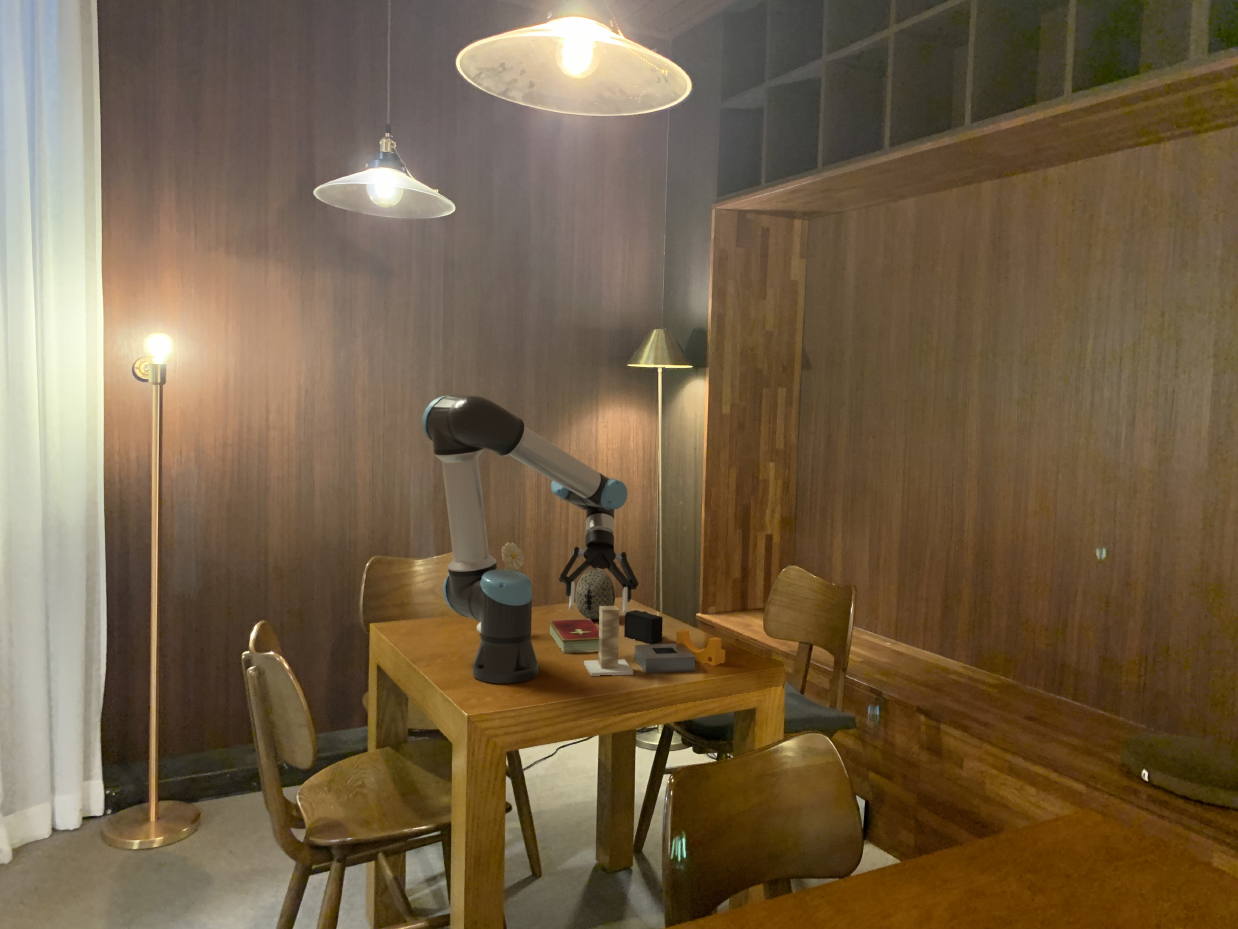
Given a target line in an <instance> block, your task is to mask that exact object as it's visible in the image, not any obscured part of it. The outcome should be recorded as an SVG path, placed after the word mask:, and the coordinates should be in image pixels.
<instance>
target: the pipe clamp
mask: <svg viewBox="0 0 1238 929" xmlns="http://www.w3.org/2000/svg"><path fill="white" fill-rule="evenodd" d="M675 638H676V640H675V641H676V643H682V644H683V645H684V646H685V647H686V648H687V649H688V650H689V651H690V652H691V653H692V654H693V655H694V656H695V660H696V661H695V662H698V661H700V662H699V663H702V662H704V663H703V664H705V663H708V664H707V665H709V664H711V665H710V666H713V665H714V666H713V667H715V665H716V666H718V664H719V665H720V663H721V664H725V663H726V650H725V649H722V638H720V637H716V636H713V637H711V638H708V640H707V641H708V643H707V645H706V647H704V648H698V647H696V646H695V644H694V643H693V641H692V638H691V636H690V630H686V629H680V630H677V631H676V637H675ZM676 643H675V644H676Z"/></svg>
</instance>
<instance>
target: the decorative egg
mask: <svg viewBox="0 0 1238 929" xmlns="http://www.w3.org/2000/svg"><path fill="white" fill-rule="evenodd" d="M615 601H616V589H615V585H614V582H613V580H612V578H611V576H610V575H609V574H608V573H607V572H605V571H604V569H600V568H592V569H589V570H587V571H585V572H584V574H583V573H582V576H581V577H580V578H579V579H578V582H577V583H576V588H575V591H574V602H575V605H576V608H577V610H578V612H579V613H580V614H581V615H582V616H583V617H585V619H591V621H593V620H594V621H597V620H599V606H615Z"/></svg>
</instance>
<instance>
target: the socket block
mask: <svg viewBox="0 0 1238 929" xmlns="http://www.w3.org/2000/svg"><path fill="white" fill-rule="evenodd" d="M634 660H635V662H637V664H638V665H639V666H640V668H641V669H642V670H643V672H645V674H658V673H659V674H660V673H662V674H663V673H682V672H684V673H685V672H696V661H695V656H694V655H693V654H692V653H691V652H690V651H689V650H688V649H687V648H686V647H685V646H684V645H683V644H682V643H657V644H647V643H646V644H634Z"/></svg>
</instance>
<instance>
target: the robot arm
mask: <svg viewBox="0 0 1238 929" xmlns="http://www.w3.org/2000/svg"><path fill="white" fill-rule="evenodd" d="M422 429H423V432H424V434H425V435H426V437H427V439H429V440H430V441H431V442H432V447H433V454H434V456H435V457H436V458H437V459H438V460H440V461H441V464H442V466H441V467H442V473H443V482H444V491H445V500H446V508H447V509H446V510H447V516H448V524H449V531H450V533H449V534H450V542H451V549H452V550H451V551H452V558H453V559H452V560H451V562H449V563H448V565H447V569H448V571H447V572H448V574H447V575H446V578H445V579H444V581H443V584H442V594H443V598H444V601H445V603H446V605H447V606H448V607H449V608H450V609H451V610H452V611H454V612H456V614H458V615H459V616H462V617H464V618H469V619H472V620H474V621H477V622H479V623H480V622H481V633H480V642H479V645H478V649H477V652H476V655H475V658H474V660H473V664H472V676H473V677H474V678H475V679H476V678H477V680H479V681H482V682H485V683H493V684H514V683H515V684H516V683H521V682H527V681H531V680H532V679H534V678H537V676H538V675H539V661H538V658H537V655H536V652H535V649H534V646H533V643H532V621H533V620H532V618H533V617H532V616H533V615H532V613H533V610H532V609H533V607H532V606H533V605H532V604H533V597H534V596H533V595H534V594H533V585H532V581H531V578H529V577H528V575H526V574H525V573H523V572H520V571H518V570H514V571H510V570H508V569H506V570H505V569H498V566H497V565H498V564H497V559H496V558H495V557H493V556H492V555H491V554H490V551H489V544H488V543H489V541H488V534H487V525H486V517H485V516H486V515H485V506H484V499H483V497H484V496H483V488H482V480H481V472H480V462H479V456H480V455H481V454H482V453H483V452H484V450H488V451H492V452H494V453H495V454H497V455H499V456H501V457H508V456H510V457H512V458H513V459H515V460H516V461H519V462H520V463H522V464H524V465H525V466H527V467H529V468H531V469H532V470H534V471H536V472H538V473H539V474H540V475H542V476H544V477H546V478H547V479H549V480H551V483H550V490H551V493H553V495H555V496H556V497H557V498H559V499H560V500H564V501H566V502H567V503H570V504H572V505H574V506H576V507H578V508H579V509H582V510H584V511H585V516H586V517H585V521H586V522H585V546H584V549H581V548H579V547H578V546H575V547H574V549H573V550H572V556H571V557H570V559H569V560H568V562H567V564H566V565H565V567H564V568H563V571H562V572H561V574H560V576H559V578H558V582H561V583H564V584H565V585H564V586H565V596H566V597H569V599H568V601H569V602H568V611H572V610H573V608H574V606H575V589H576V588H575V583H576V581H575V580H576V579H577V578H578V577H579V576H581V574H583V572H584V571H586V570H587V569H588V568H589V567H591V568H592V569H600V570H605V569H607V570H608V572H610V573H611V574H612V576H613V577H615V579H616V580H617V581H618V582H619V584H620V585H621V586H622V587H623V588H622V591H621V592H622V593H621V596H622V597H621V615H622V616H625V614H626V613H627V612H628V603H630V601H631V599H632V590H636V589H637V588H638V586H639V581H638V579H637V577H636V575H635V574H634V571H633V569H632V568H631V566H630V563H629V561H628V559H627V553H626V551H623V552H621V553H616V552H615V513H616V512H615V510H619V509H621V508H622V507H623V506H624V505H625V503H626V502H627V499H628V488H627V485H626V484H625V482H623V481H622V480H620V479H616V478H610V477H607V476H605V475H604V474H603V473H601V472H600V471H599V472H598V471H597V470H596V469H594V468H593V467H591V466H589V465H587V464H586V463H584V462H583V461H581V460H579V459H578V458H576V457H575V456H573V455H571V454H569V453H568V452H567V451H565V450H563V449H562V448H560V447H559V446H557V445H556V444H554V443H552V442H550V441H549V440H547V439H546V438H544V437H542V436H541V435H539V434H537V433H536V432H534V431H533V430H532V429H530V428H528V427H526V423H525V421H524V420H523V419H522V418H520V417H518V416H517V415H515V414H513V412H511V411H509V410H508V409H506V408H505V407H503V406H501V405H499V404H497V403H496V402H495V401H493V400H490V399H488V398H486V397H483V396H480V395H460V394H459V395H458V394H447V395H443V396H439V397H436V398H435V399H433V400H432V401H431V402H430V403H429V404H428V406H427V407H426V408H425V410H424V412H423V414H422ZM581 556H583V558H584V559H585V560H584V562H583V563H581V565H579V566H578V568H576V569H575V570H574V571H573V572H572V573H571V574H570V575H569V576H568V574H569V572H570V571H571V569H572V568H573V566H574V565H575V563H576V561H577V559H579V558H581ZM615 559H616V560H617V561H618V563H619V564H620V566H621V568H622V571H623V572H622V571H621V569H620V568H619V567H618V566H617V564H616V562H615ZM624 574H625V575H624Z"/></svg>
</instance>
